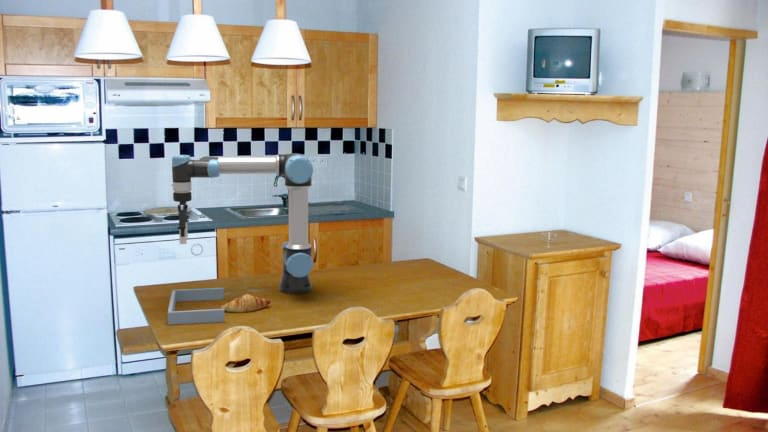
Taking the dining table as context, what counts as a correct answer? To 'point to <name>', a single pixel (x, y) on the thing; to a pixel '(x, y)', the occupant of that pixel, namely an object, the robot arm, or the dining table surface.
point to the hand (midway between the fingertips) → (183, 240)
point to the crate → (195, 315)
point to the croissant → (245, 304)
